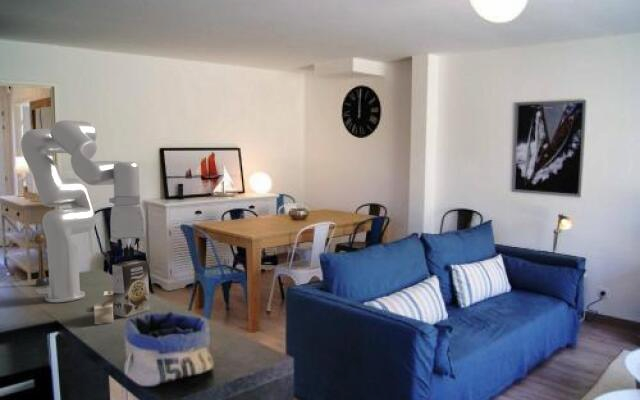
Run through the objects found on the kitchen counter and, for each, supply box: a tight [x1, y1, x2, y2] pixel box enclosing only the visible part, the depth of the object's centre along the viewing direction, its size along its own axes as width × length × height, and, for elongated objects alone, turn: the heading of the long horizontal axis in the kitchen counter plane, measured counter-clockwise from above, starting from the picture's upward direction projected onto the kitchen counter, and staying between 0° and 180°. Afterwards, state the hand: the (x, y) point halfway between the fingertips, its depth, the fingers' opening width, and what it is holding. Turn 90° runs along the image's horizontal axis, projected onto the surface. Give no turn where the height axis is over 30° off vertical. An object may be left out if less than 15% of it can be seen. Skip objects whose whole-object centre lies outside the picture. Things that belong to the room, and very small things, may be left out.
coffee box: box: [112, 259, 150, 318], centre depth 165 cm, size 9×6×16 cm
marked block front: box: [93, 302, 114, 325], centre depth 157 cm, size 5×5×5 cm
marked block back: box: [103, 290, 114, 310], centre depth 172 cm, size 5×5×5 cm
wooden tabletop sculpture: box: [29, 233, 50, 287], centre depth 202 cm, size 6×5×20 cm
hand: (129, 259), depth 165 cm, fingers closed
